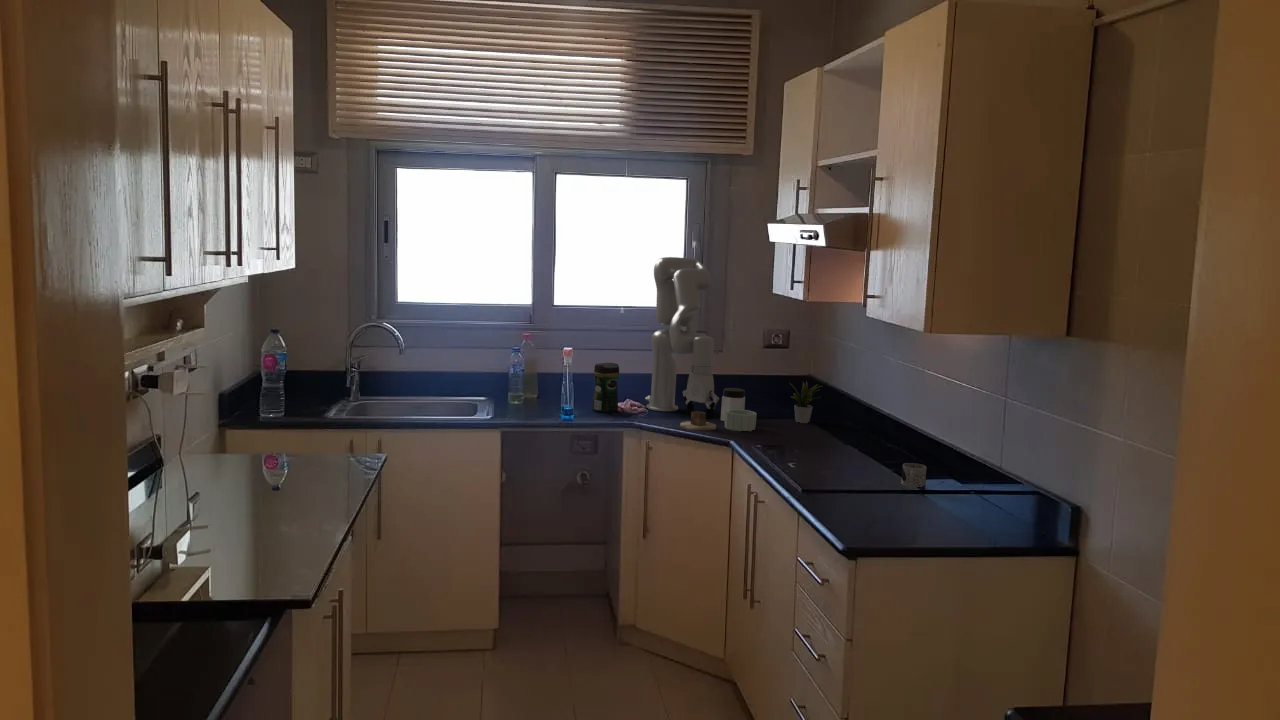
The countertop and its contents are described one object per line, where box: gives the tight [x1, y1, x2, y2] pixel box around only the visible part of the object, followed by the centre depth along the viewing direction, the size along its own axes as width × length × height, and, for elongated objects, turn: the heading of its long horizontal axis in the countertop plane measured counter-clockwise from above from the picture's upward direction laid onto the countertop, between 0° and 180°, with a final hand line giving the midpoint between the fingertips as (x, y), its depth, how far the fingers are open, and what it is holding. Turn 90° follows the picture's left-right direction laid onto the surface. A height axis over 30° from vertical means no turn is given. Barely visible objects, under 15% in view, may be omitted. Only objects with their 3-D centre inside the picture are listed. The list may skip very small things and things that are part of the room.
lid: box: [679, 410, 717, 432], centre depth 356 cm, size 13×13×6 cm
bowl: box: [724, 409, 757, 432], centre depth 358 cm, size 11×11×6 cm
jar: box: [720, 387, 746, 422], centre depth 371 cm, size 9×8×12 cm
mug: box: [900, 462, 928, 489], centre depth 282 cm, size 10×7×7 cm, turn 159°
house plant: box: [790, 380, 822, 424], centre depth 376 cm, size 14×14×16 cm
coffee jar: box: [592, 362, 620, 413], centre depth 377 cm, size 10×8×19 cm
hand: (699, 417), depth 356 cm, fingers open, 9 cm apart
